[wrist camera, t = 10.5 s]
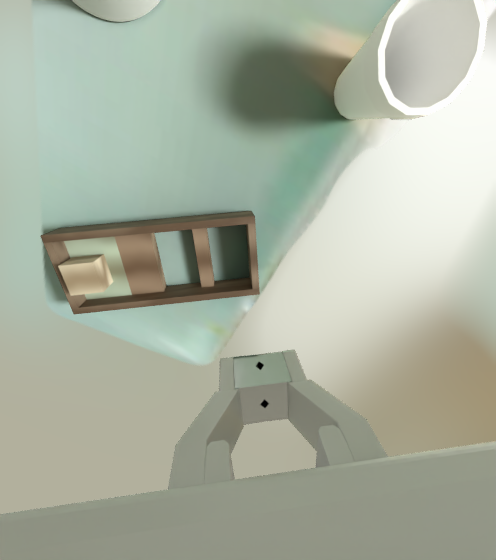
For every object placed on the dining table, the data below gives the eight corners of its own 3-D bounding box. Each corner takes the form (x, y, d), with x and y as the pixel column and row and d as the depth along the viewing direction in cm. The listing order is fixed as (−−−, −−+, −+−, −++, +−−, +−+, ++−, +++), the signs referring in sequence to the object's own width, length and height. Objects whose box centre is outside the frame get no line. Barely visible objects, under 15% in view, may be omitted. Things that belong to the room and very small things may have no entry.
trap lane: (60, 227, 37) (40, 235, 33) (251, 210, 38) (254, 216, 34) (88, 299, 42) (73, 314, 38) (256, 282, 43) (259, 294, 39)
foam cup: (309, 111, 34) (356, 81, 22) (347, 28, 30) (426, -59, 19) (365, 145, 36) (435, 134, 24) (406, 72, 33) (509, 18, 21)
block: (72, 257, 37) (58, 265, 33) (103, 254, 37) (92, 262, 34) (83, 285, 38) (70, 295, 35) (113, 281, 39) (103, 292, 35)
